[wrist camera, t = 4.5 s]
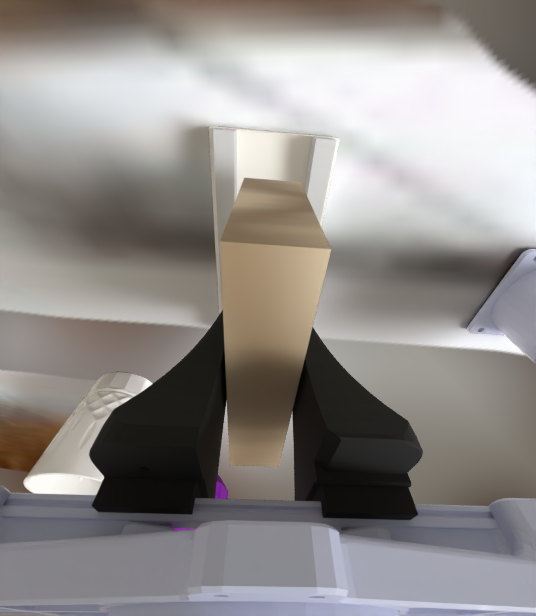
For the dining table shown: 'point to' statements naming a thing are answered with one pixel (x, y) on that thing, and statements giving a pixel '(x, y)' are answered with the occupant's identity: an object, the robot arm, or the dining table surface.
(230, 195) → the track board
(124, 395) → the white cup
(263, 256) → the tan rectangular block
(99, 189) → the dining table surface
